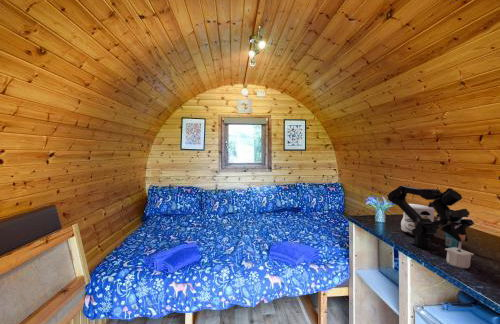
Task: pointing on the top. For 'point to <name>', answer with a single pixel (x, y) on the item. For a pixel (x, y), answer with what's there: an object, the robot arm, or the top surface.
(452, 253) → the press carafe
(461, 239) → the plunger
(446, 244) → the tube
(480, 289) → the top surface
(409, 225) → the milk container
